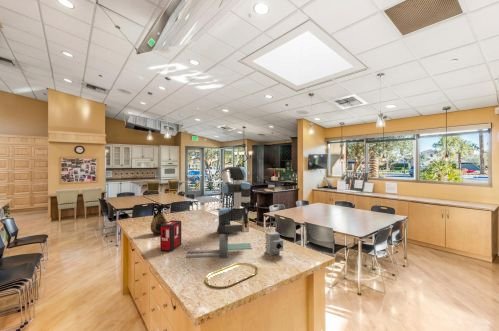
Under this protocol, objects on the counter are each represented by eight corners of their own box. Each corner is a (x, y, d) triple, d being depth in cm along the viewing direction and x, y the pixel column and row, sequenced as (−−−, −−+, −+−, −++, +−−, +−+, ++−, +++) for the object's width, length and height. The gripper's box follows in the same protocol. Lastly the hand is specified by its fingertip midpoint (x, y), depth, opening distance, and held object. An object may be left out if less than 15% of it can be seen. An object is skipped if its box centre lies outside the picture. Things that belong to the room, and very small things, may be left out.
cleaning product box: (171, 244, 192) (171, 220, 192) (181, 244, 190) (181, 220, 190) (160, 251, 176) (160, 225, 176) (170, 252, 174) (171, 225, 174)
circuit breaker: (275, 258, 163) (275, 237, 163) (265, 251, 175) (265, 232, 175) (284, 256, 166) (284, 235, 166) (273, 250, 179) (273, 230, 179)
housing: (188, 251, 176) (188, 235, 176) (227, 249, 179) (227, 233, 179) (185, 259, 161) (185, 241, 161) (227, 257, 164) (227, 240, 164)
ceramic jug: (167, 231, 229) (167, 201, 229) (167, 235, 214) (167, 203, 214) (149, 232, 223) (149, 202, 223) (147, 237, 209) (147, 204, 209)
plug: (224, 230, 185) (224, 218, 185) (250, 230, 187) (250, 218, 187) (224, 232, 180) (224, 220, 180) (250, 232, 182) (250, 219, 182)
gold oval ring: (199, 280, 133) (199, 277, 133) (243, 262, 157) (243, 260, 157) (218, 293, 119) (218, 290, 119) (263, 271, 143) (263, 269, 143)
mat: (226, 244, 191) (226, 243, 191) (250, 243, 193) (250, 243, 193) (226, 249, 179) (226, 249, 179) (251, 248, 181) (251, 248, 181)
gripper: (240, 199, 193) (240, 227, 193) (241, 203, 175) (241, 234, 175) (249, 199, 193) (248, 226, 194) (251, 203, 175) (251, 233, 176)
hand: (245, 230), depth 184 cm, fingers closed on plug, 5 cm apart
